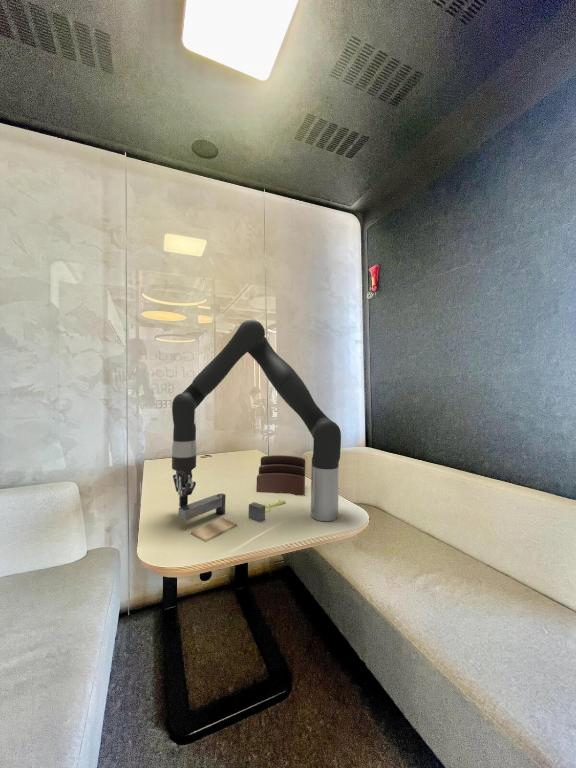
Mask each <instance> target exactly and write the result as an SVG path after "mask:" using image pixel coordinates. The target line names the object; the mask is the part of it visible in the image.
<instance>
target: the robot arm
mask: <svg viewBox="0 0 576 768" xmlns="http://www.w3.org/2000/svg"><path fill="white" fill-rule="evenodd" d="M247 353H248V354H249V355H250V356H251V357H252V358H253V360H254V361H255V362H256V363H257V364H258V366H259V367H260V368H261V370H262V372H263V373H264V375H265V376H266V378H267V379H268V381H269V382H270V383H271V385H272V386H273V388H274V389H275V391H276V392H277V393H278V395H279V396H280V397H281V399H282V400H284V402H285V403H286V404H287V405H288V406H289V407H290V408H291V410H293V411H294V412H295V413H296V414H297V416H299V417H300V419H301V420H302V421H303V423H304V425H305V427H306V429H308V431H309V433H310V435H311V436H312V438H313V451H312V457H311V478H310V479H311V481H310V482H311V483H310V484H311V485H310V487H311V488H310V517H311V518H312V519H314V520H316V521H320V522H332V521H333V522H334V521H335V520H336V518H337V519H338V514H339V469H340V468H339V465H340V464H339V463H340V459H341V449H342V448H341V446H342V445H341V444H342V432H341V429H340V427H339V425H338V424H337V423H336V422H334V421H333V420H332V419H330V417H328V416H327V415H326V414H325V413H324V412H323V411H322V410H321V408H320V407H319V406H318V405H317V404H316V402H315V401H314V397H313V396H312V394H311V392H310V391H309V389H308V387H307V385H306V384H305V382H304V381H303V380H302V378H301V377H300V376H299V375H298V373H297V371H295V369H293V367H292V366H291V365H290V364H288V362H286V361H285V360H284V359H283V358H282V357H281V356H279V355H278V353H277V352H276V351H275V350H274V349H273V347H272V346H271V344H270V342H269V341H268V339H267V338H266V332H265V328H264V326H263V324H262V323H261V322H259V321H257V320H255V319H248V320H245V321H244V322H242V323H241V324H240V325H239V326H238V328H237V330H236V331H235V333H234V334H233V336H232V337H231V339H230V340H229V341H228V342H227V344H226V345H225V346H224V347H223V349H221V351H220V352H219V353H218V354H217V355H216V356H215V357H214V358H213V359H212V360H211V361H210V362H209V363H207V365H206V366H205V367H204V368H203V369H202V370H201V371H200V372H199V373H198V374H197V375H196V376H195V377H194V378H193V380H192V382H191V384H189V386H187V387H186V388H185V390H183V392H181V393H179V394H177V395H175V397H174V398H173V401H172V405H171V413H172V414H171V416H172V421H173V422H172V423H173V434H172V440H173V441H172V445H171V446H172V447H171V469H172V470H173V471H175V474H172V479H173V484H174V486H175V487H174V488H175V491H176V492H177V494H178V496H179V498H178V501H179V503H178V506H179V508H180V507H182V506H185V505H188V504H189V503H188V501H189V499H188V497H189V496H191V495H192V494H193V492H194V490H195V487H196V484H197V483H196V481H193V472H192V471H193V470H194V469H196V468H197V437H196V436H197V427H196V422H195V417H196V416H195V415H196V409H197V408H198V407H199V406H200V405H201V403H202V402H203V401H204V400H205V399H206V397H207V396H208V395H210V394H211V393H212V392H213V391H215V389H216V388H217V386H219V384H221V382H223V380H224V379H225V378H226V376H227V375H228V374H229V373H230V372H231V370H232V369H233V368H234V367H235V365H236V364H237V363H238V362H239V361H240V360H241V359H242V357H243V356H245V355H246V354H247Z"/></svg>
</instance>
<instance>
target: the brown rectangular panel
mask: <svg viewBox="0 0 576 768" xmlns="http://www.w3.org/2000/svg"><path fill="white" fill-rule="evenodd" d="M237 527H238V523H236V522H233V521H232V520H230V519H226V518H223V517H221V518H218V519H216V520H214V521H212V522H210V523H207V524H205V525H203V526H201V527H198V528H196V529H193V530H192V531H190V535H192V536H193V537H195V538H197V539H200V540H201V541H203V542H205V543H207V542H209V541H211V540H212V539H215V538H216V537H219V536H221V535H223V534H225V533H226V532H228V531H230V530H233V529H235V528H237Z"/></svg>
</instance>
